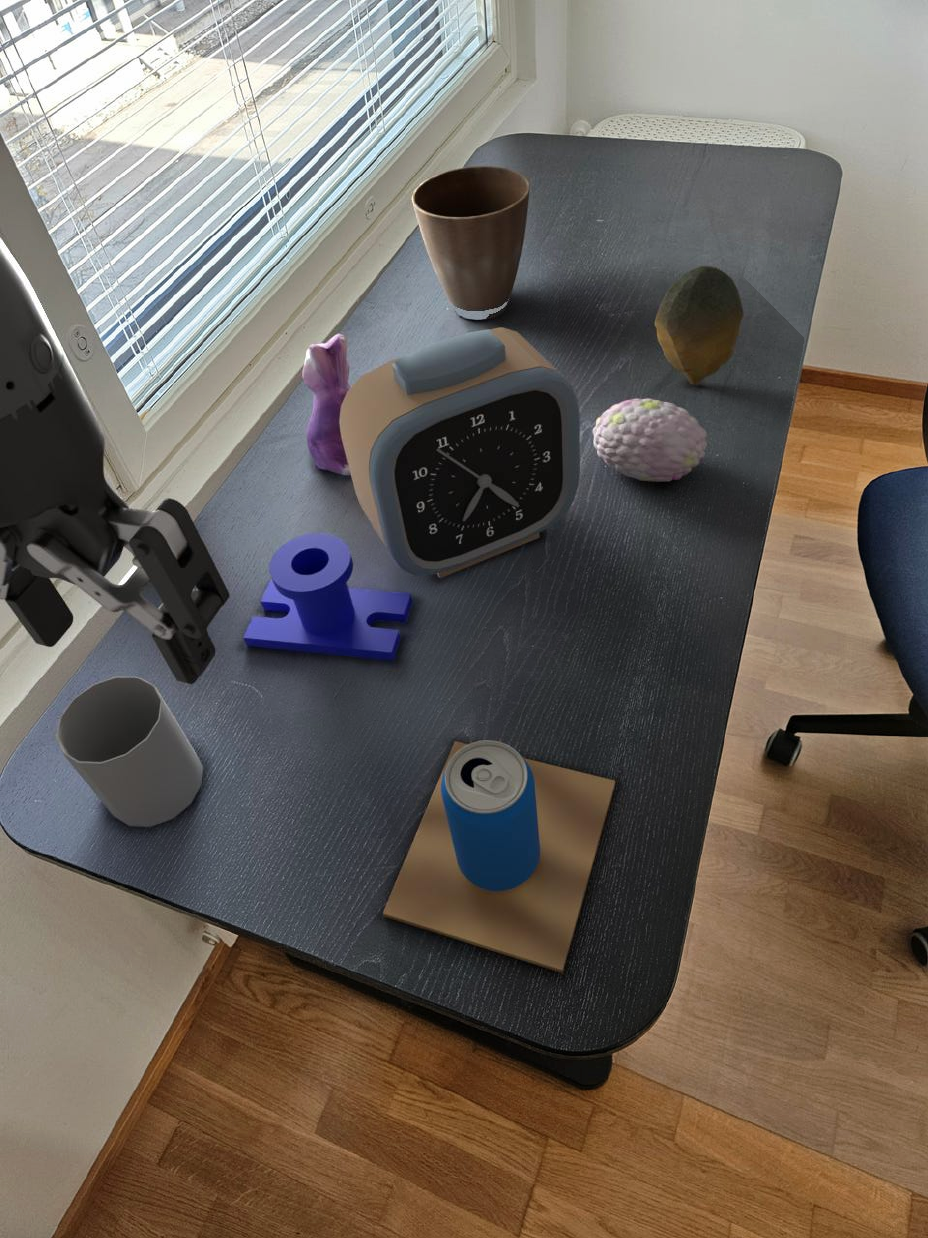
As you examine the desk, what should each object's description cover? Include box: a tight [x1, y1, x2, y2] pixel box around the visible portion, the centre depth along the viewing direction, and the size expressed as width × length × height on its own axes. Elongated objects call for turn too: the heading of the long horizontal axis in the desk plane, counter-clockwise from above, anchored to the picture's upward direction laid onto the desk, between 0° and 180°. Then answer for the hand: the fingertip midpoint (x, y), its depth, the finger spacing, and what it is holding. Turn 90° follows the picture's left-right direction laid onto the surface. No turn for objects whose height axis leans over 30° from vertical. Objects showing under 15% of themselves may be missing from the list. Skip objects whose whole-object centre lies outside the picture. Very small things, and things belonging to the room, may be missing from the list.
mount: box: [243, 532, 414, 662], centre depth 84 cm, size 15×8×9 cm, turn 78°
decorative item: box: [592, 397, 708, 483], centre depth 95 cm, size 9×11×10 cm
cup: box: [55, 675, 204, 828], centre depth 74 cm, size 8×8×10 cm
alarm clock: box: [339, 327, 581, 579], centre depth 86 cm, size 21×10×22 cm, turn 115°
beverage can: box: [441, 739, 540, 891], centre depth 64 cm, size 6×6×12 cm
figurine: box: [301, 333, 352, 476], centre depth 100 cm, size 9×10×15 cm
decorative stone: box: [654, 265, 745, 386], centre depth 101 cm, size 10×6×15 cm, turn 73°
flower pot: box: [411, 165, 531, 321], centre depth 118 cm, size 15×15×16 cm
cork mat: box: [382, 740, 616, 974], centre depth 70 cm, size 16×14×1 cm
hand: (126, 651), depth 45 cm, fingers open, 8 cm apart
